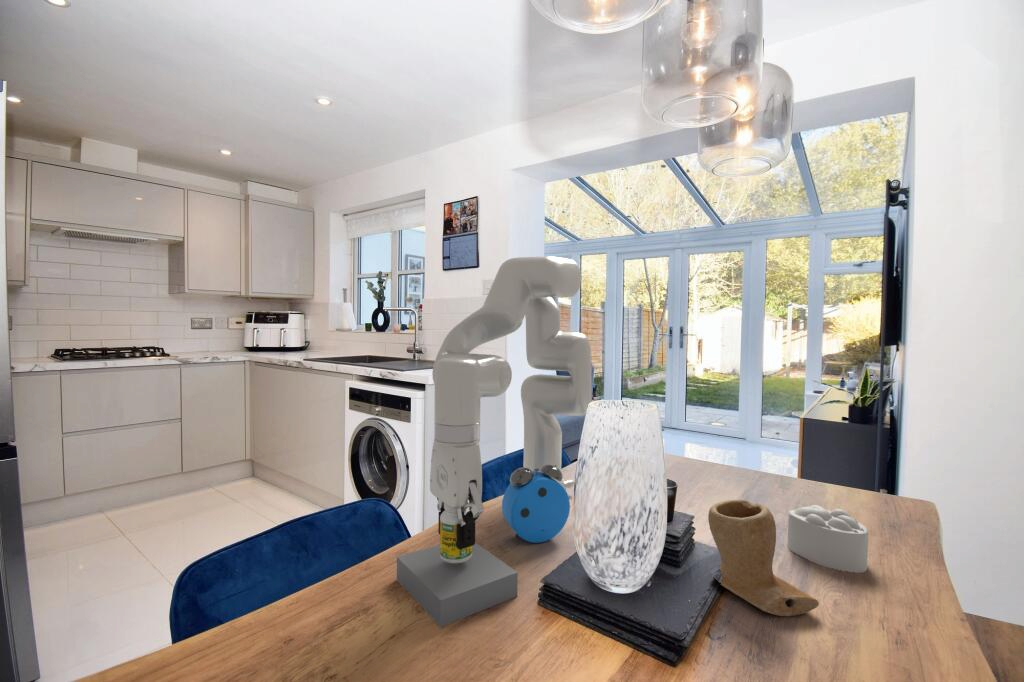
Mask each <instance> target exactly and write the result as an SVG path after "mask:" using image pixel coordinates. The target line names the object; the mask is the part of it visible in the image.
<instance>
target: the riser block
mask: <svg viewBox="0 0 1024 682" xmlns="http://www.w3.org/2000/svg"><path fill="white" fill-rule="evenodd" d="M518 574H519V573H518V571H517V570H516V569H513V568H512V566H510V565H508V564H507V563H505V562H504V561H502V560H501V559H500V558H498V557H497V556H496V555H494V554H492V553H491V552H490V551H488V550H487V549H485V548H484V547H483V546H481V545H480V544H478V543H477V542H475V544H474V545H473V546H472V556H471V558H470V559H469V560H467V561H465V562H461V563H449V562H446V561H444V560H443V559H442V558H441V556H440V543H439V544H436V545H435V544H434V545H433V546H430V547H426V548H422V549H419V550H415V551H412V552H409V553H405V554H402V555H397V556H396V581H398V582H399V584H400V585H401V586H402V587H403V588H404V589H405V590H406V591H407V593H409V595H410V596H411V597H412V598H413V599H414V600H415V601H416V602H417V603H418V605H419V606H420V607H422V609H423V610H424V611H425V612H426V613H427V614H428V616H430V617H431V618H432V620H433V619H434V620H433V621H434V622H435V621H436V622H435V623H436V624H437V625H438V626H439V627H440V628H442V627H445V626H447V625H450V624H452V623H454V622H457V621H460V620H463V619H465V618H467V617H469V616H472V615H474V614H477V613H479V612H483V611H485V610H486V609H489V608H492V607H494V606H497V605H499V604H500V605H501V604H502V603H504V602H507V601H510V600H512V599H513V598H517V597H518V587H519V586H518V583H519V581H518V579H519V575H518Z"/></svg>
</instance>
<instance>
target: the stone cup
mask: <svg viewBox="0 0 1024 682" xmlns="http://www.w3.org/2000/svg"><path fill="white" fill-rule="evenodd" d="M707 517H708V525H709V529H710V532H711V536H712V538H713V541H714V543H715V546H716V548H717V551H718V553H719V555H720V560H721V563H720V565H721V566H720V570H721V574H722V581H721V584H720V585H721V586H722V587H723V588H725V589H727V590H729V591H730V592H731V593H733V594H734V595H736V596H738V597H740V598H741V599H743V600H744V601H745V602H747V603H749V604H751V605H752V606H754V607H756V608H758V609H760V611H763V612H765V613H768V614H771V615H775V616H779V617H792V616H793V617H795V616H798V615H803V614H805V613H809V612H811V611H813V610H815V609H816V608H818V607H819V605H820V604H819V603H820V602H819V600H818V599H816V598H815V597H813V596H811V595H810V594H808V593H806V592H804V591H802V590H801V589H799V588H797V587H796V586H795V585H793V584H791V583H789V582H787V581H786V580H784V579H782V578H780V577H778V576H776V575H775V574H774V571H773V562H774V555H775V553H776V552H775V551H776V545H777V527H776V521H775V518H774V515H773V514H772V511H771V510H770V509H769V508H768V507H767V506H766V505H764V504H762V503H753V502H751V501H748V500H745V499H744V500H743V499H727V500H724V501H719V502H717V503H713V504H712V505H711V507H710V508H709V510H708V515H707Z"/></svg>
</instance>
